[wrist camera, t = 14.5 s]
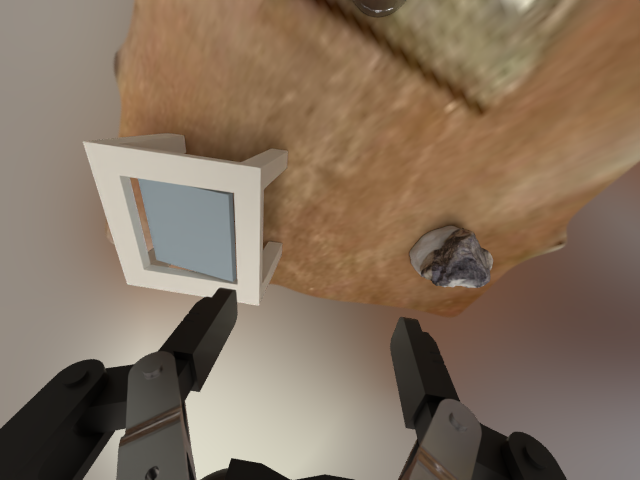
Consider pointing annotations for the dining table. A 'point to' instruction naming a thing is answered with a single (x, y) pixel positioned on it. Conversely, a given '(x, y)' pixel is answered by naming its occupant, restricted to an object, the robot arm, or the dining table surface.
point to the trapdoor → (191, 227)
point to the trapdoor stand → (203, 172)
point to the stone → (452, 258)
